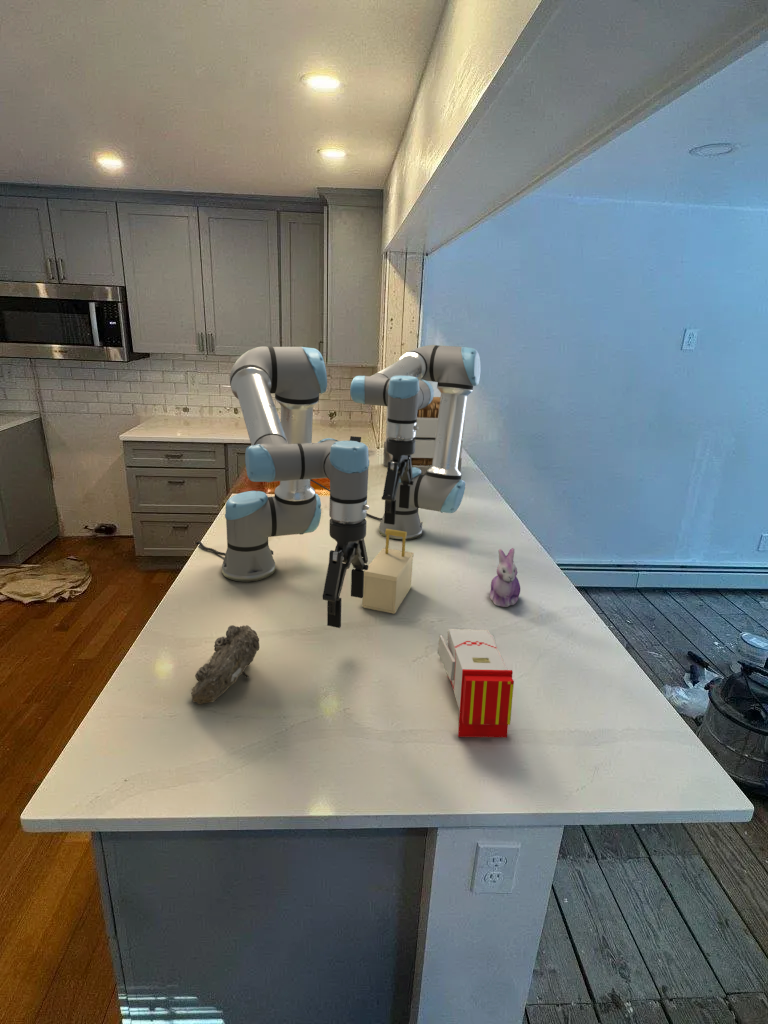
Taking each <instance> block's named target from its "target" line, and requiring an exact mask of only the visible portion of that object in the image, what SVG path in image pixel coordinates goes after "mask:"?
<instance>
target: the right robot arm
mask: <svg viewBox="0 0 768 1024" xmlns="http://www.w3.org/2000/svg"><path fill="white" fill-rule="evenodd" d="M481 368H482V367H481V359H480V354H479V352H478V350H477V349H476V348H474V347H468V346H455V345H437V344H429V345H423V346H419V347H416V348H414V349H411V350H409V351H407V352H405V353H403V354H401V356H400V357H399V359H398V360H397V361H395V362H393V363H391V364H390V365H388V366H386V367H385V368H383V369H381V370H379V371H378V372H376V373H374V374H372V375H355V376H354V377H353V379H352V380H351V383H350V387H349V388H350V389H349V391H350V398H351V400H352V401H353V403H356V404H362V405H369V406H379V407H387V406H388V418H387V423H386V426H387V436H388V438H387V439H386V441H385V442H386V452H387V453H389V454H392V455H393V458H392V460H391V461H388V467H387V470H386V475H385V481H384V486H383V492H382V496H381V501H384V513H383V515H382V517H378V516H375V515H372V514H369V513H367V514H366V517H370V518H373V519H375V520H378V521H381V522H379V526H378V533H379V534H380V535H381V536H382V537H385V538H386V534H385V531H386V529H392V530H398V531H404V532H407V536H406V540H405V541H410V540H415V539H418V538H420V537H421V536H422V535H423V523H424V522H423V521H421V518H420V515H419V509H420V510H421V509H422V510H427V511H433V512H439V513H442V514H443V513H446V514H454V513H456V512H457V511H458V509H459V508H460V506H461V504H462V502H463V499H464V495H465V490H466V481H465V480H463V479H462V473H460V472H459V470H458V461H459V454H460V446H461V440H462V439H463V438H462V431H463V424H464V425H465V421H464V420H465V416H466V408H467V401H468V396H469V395H470V394H472V393H473V389H474V387H477V386H478V385H479V384H480V380H481V373H482V372H481ZM430 382H432V383H437V384H436V388H437V390H438V391H439V392H440V397H441V398H440V406H439V414H438V422H437V430H436V438H435V446H434V454H433V462H432V465H430V466H429V468H428V469H427V470H426V473H425V474H424V473H423V474H422V470H421V468H419V467H416V466H412V463H411V455H412V454H414V453H415V442H416V441H415V439H414V438H415V437H416V430H418V427H417V426H416V422H417V410H419V409H422V408H424V407H426V406H427V405H428V404H430V403H431V401H432V400H433V397H435V391H434V387H433V385H432V384H431V383H430ZM310 482H312V483H314V484H315V485H318V486H319V487H321V488H323V489H324V490H326V491H327V492H329V493H330V488H327V487H326V486H324V485H322V484H321V483H319V482H317V481H315V479H310ZM389 540H395V541H402V540H403V537H399V536H393V535H389Z"/></svg>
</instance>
